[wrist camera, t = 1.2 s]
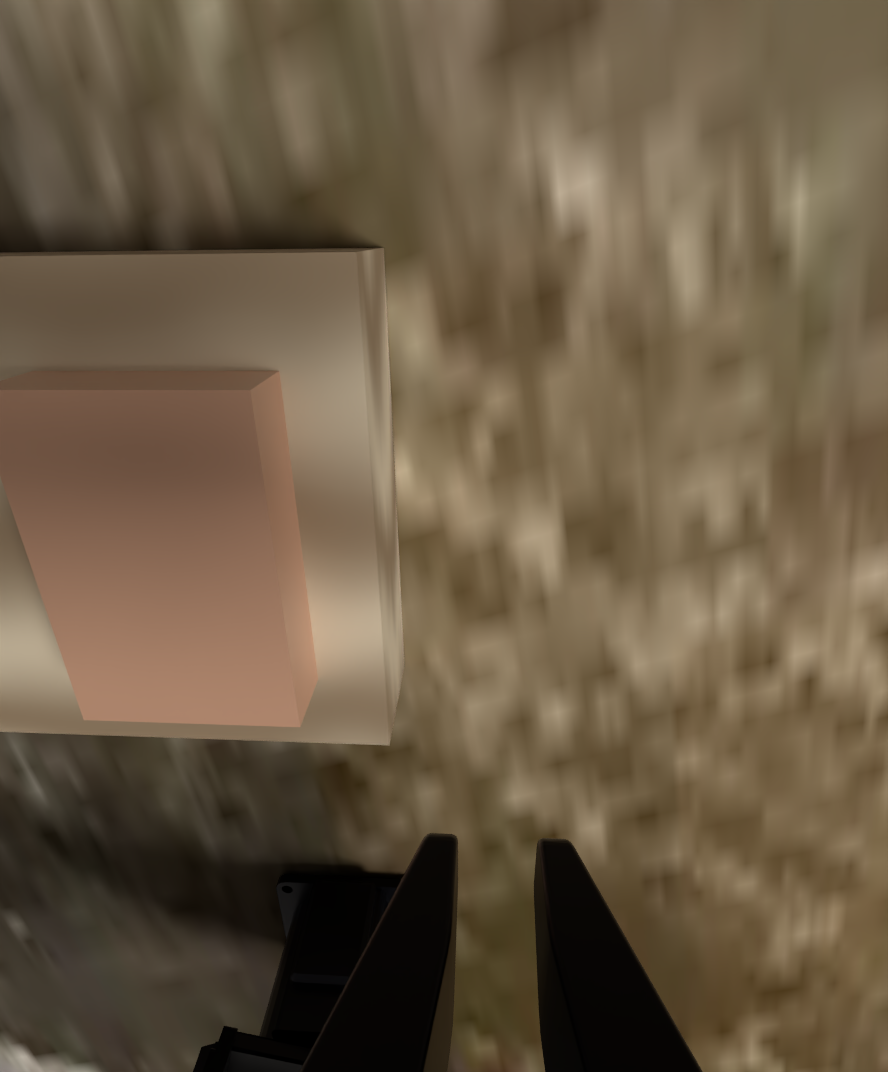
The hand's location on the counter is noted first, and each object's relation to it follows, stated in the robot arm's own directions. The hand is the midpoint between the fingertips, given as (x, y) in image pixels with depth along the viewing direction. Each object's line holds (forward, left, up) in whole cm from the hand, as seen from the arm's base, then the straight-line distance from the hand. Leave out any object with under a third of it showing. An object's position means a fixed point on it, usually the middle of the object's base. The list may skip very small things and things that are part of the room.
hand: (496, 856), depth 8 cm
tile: (0, +8, -9) cm, 12 cm away
